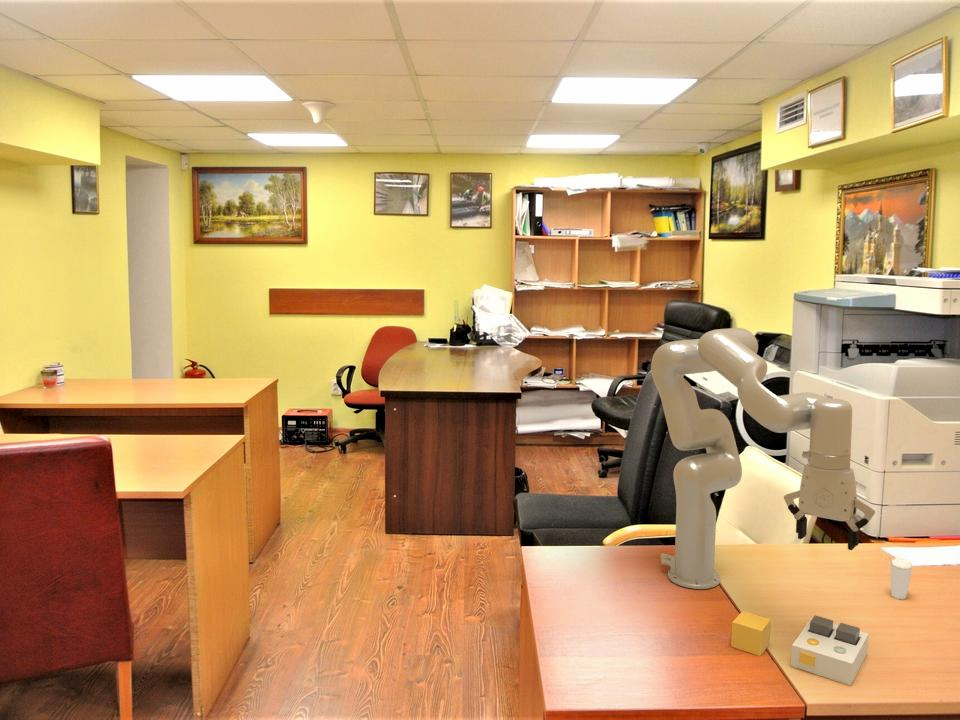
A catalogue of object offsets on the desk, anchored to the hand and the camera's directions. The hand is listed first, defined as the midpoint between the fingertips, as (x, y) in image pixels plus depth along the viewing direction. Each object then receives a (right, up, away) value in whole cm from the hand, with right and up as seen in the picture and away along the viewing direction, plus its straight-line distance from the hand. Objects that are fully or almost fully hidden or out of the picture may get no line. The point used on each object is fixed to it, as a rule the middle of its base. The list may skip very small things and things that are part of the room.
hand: (826, 542), depth 155 cm
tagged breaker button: (-1, -20, +2) cm, 20 cm away
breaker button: (+3, -21, -2) cm, 21 cm away
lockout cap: (-14, -23, +4) cm, 27 cm away
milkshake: (+28, -19, +25) cm, 43 cm away
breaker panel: (0, -23, -2) cm, 23 cm away
